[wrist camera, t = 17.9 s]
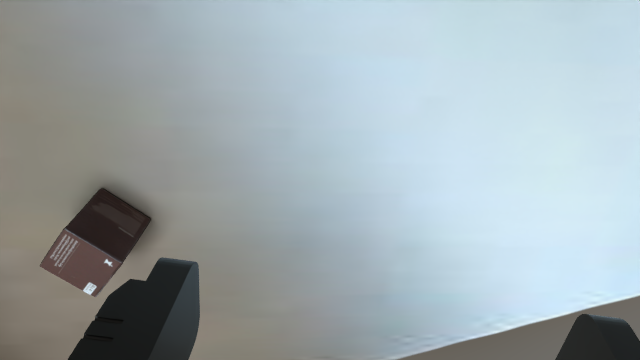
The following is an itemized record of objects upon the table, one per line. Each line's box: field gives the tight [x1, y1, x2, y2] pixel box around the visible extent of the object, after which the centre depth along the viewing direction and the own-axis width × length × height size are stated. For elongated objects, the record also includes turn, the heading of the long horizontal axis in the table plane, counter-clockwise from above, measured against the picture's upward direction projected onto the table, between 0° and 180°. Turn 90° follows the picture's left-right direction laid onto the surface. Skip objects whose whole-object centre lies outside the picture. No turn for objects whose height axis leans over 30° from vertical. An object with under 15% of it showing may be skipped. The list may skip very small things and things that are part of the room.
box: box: [40, 189, 150, 297], centre depth 48 cm, size 6×6×7 cm
